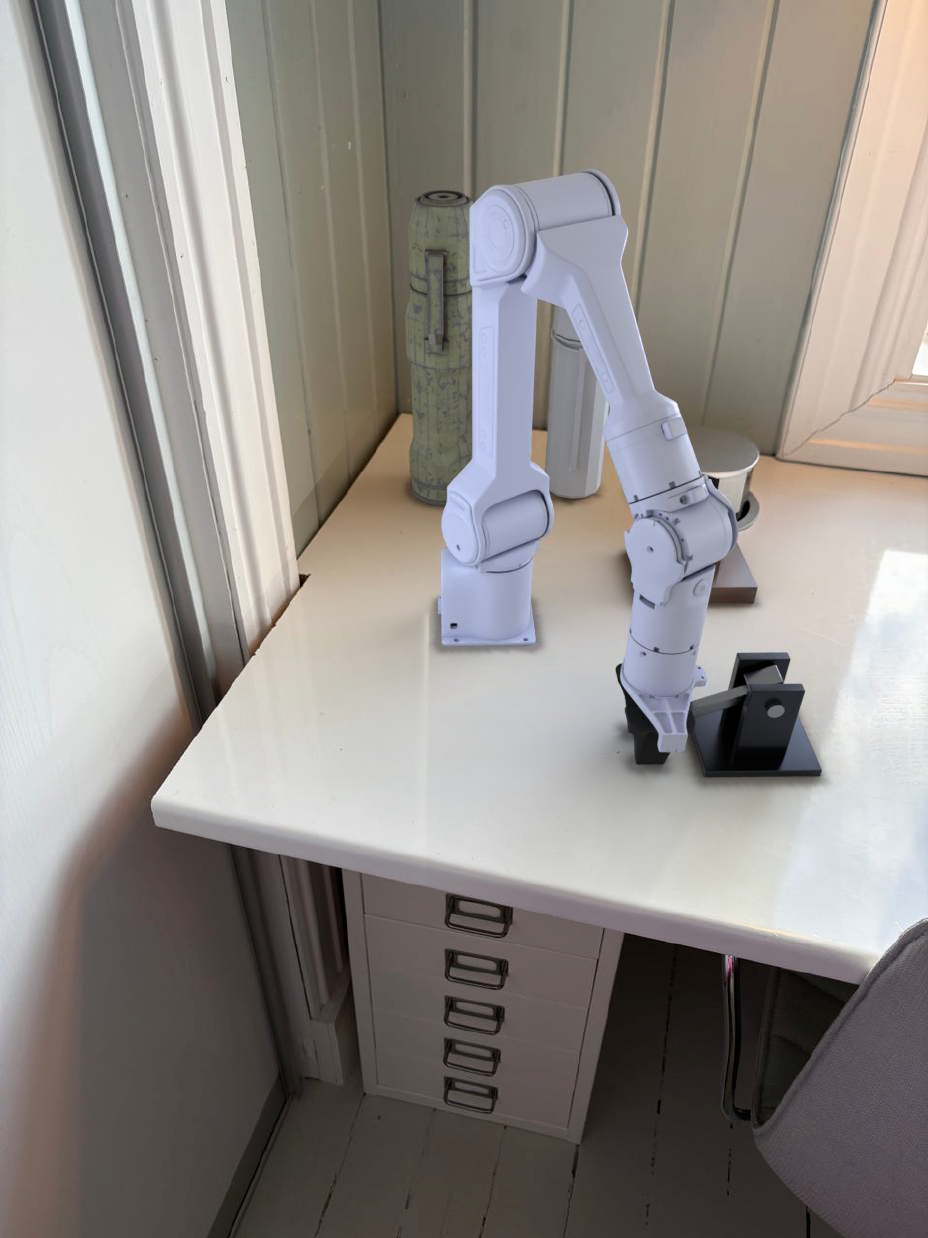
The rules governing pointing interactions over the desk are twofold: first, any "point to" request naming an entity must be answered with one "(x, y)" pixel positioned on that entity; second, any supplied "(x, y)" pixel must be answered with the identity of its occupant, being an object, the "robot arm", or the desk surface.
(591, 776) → the desk surface
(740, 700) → the lever
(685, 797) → the desk surface
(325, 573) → the desk surface
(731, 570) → the control block
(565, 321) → the water bottle
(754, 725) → the bracket
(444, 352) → the thermos
